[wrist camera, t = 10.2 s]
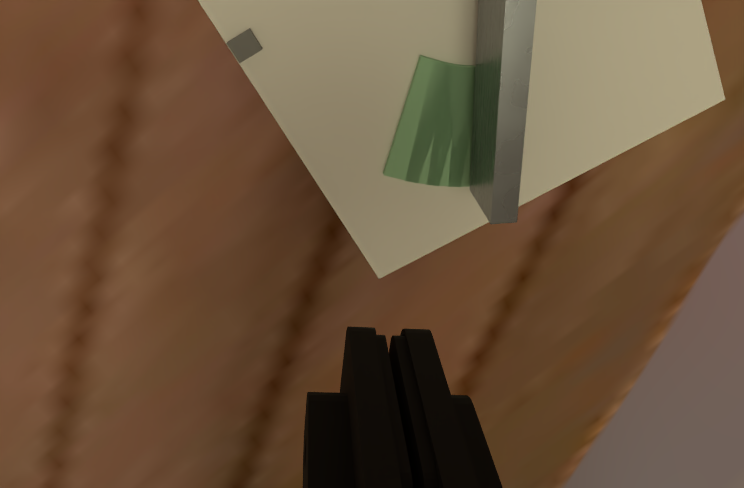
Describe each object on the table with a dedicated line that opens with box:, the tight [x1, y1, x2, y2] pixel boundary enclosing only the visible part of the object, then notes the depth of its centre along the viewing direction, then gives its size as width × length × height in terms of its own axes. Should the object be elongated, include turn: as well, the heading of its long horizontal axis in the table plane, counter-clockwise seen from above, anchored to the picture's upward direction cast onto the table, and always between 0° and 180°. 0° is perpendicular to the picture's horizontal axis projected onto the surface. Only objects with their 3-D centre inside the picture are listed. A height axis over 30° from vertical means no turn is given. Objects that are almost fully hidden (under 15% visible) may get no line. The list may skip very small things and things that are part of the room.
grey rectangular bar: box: [470, 0, 537, 224], centre depth 25 cm, size 15×3×4 cm, turn 2°
